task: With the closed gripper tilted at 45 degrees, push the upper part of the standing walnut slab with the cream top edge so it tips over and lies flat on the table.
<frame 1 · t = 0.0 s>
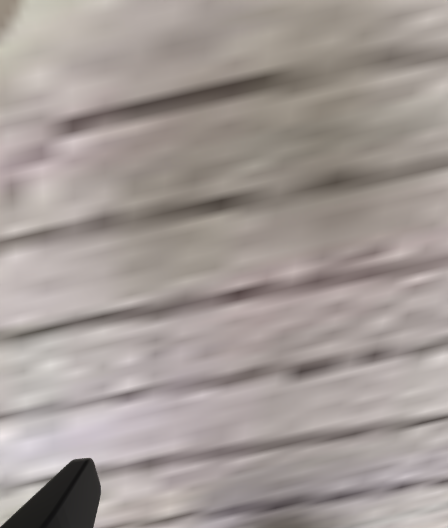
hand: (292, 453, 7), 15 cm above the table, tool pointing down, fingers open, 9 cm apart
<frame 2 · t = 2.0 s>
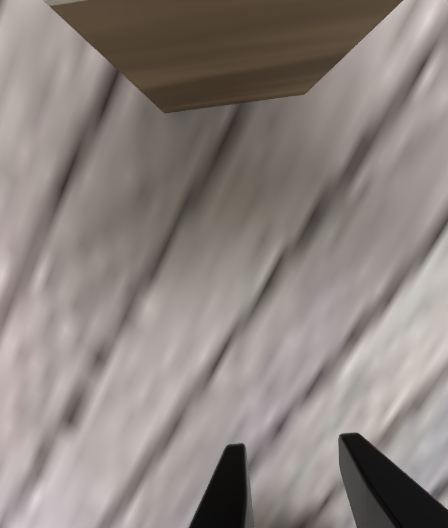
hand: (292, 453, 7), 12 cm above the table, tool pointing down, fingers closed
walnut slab: (230, 64, 16), on the table
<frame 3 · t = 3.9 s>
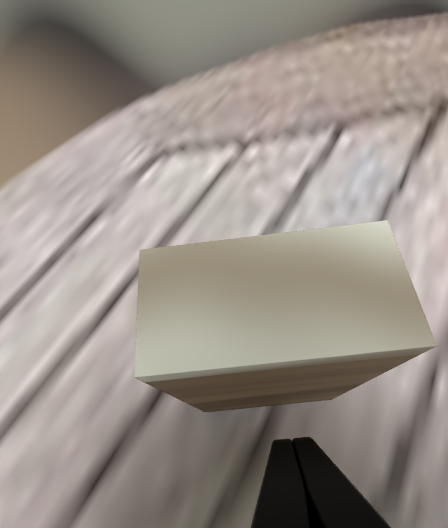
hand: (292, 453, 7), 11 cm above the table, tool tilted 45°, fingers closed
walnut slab: (263, 373, 19), on the table
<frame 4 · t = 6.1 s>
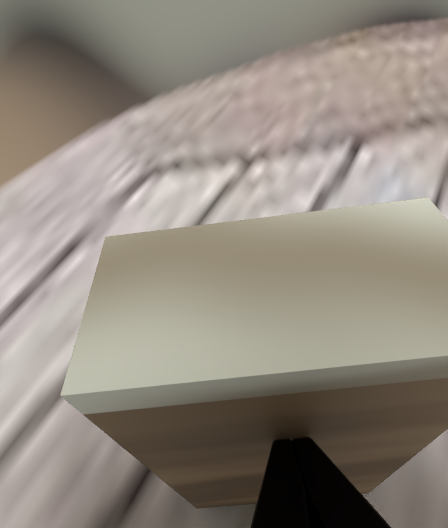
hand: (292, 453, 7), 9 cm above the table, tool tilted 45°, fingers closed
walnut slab: (274, 452, 15), on the table, tilted 14°
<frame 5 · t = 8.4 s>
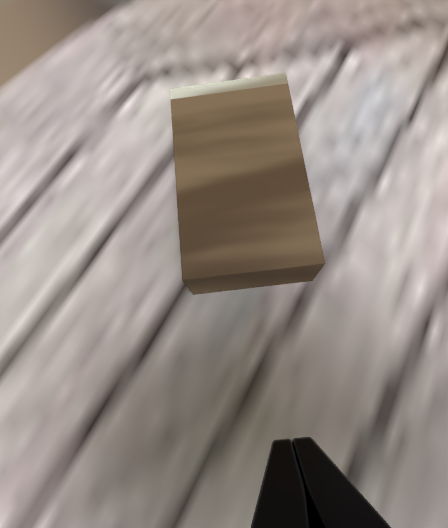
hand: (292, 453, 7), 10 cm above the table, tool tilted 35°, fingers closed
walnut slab: (252, 280, 18), point 2 cm above the table, tilted 90°
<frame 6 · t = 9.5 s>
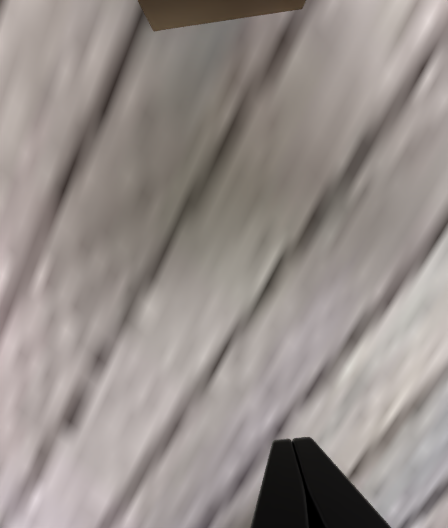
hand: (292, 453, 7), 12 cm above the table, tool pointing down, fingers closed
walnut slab: (227, 3, 14), point 2 cm above the table, tilted 90°
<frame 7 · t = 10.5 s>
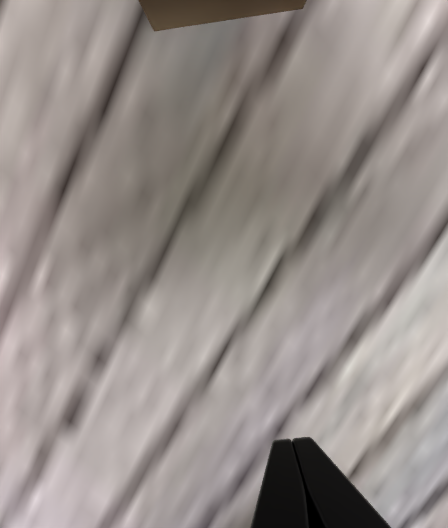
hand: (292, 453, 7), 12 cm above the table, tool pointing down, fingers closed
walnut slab: (227, 3, 14), point 2 cm above the table, tilted 90°
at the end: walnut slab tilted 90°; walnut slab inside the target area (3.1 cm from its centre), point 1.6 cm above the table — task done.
